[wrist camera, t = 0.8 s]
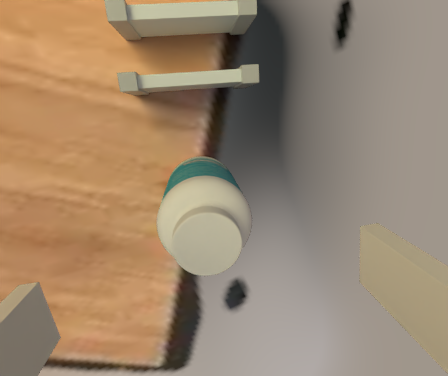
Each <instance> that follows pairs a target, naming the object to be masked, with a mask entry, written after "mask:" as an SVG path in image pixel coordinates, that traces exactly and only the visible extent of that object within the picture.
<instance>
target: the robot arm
mask: <svg viewBox="0 0 448 376" xmlns="http://www.w3.org/2000/svg"><path fill="white" fill-rule="evenodd" d="M359 281H360V283H361V284H362V285H363V286H364V287H365V288H366V289H367V290H368V291H369V292H370V293H371V294H372V295H373V296H374V298H375V299H376V300H377V301H379V303H380V304H381V305H382V306H383V307H384V308H385V309H386V310H387V311H388V312H389V313H390V314H391V315H392V316H393V317H394V318H395V319H396V320H397V321H398V323H399V324H400V325H401V326H402V327H403V328H404V329H405V330H406V331H407V332H408V333H409V334H410V335H411V336H412V337H413V338H414V339H415V340H416V341H417V342H418V343H419V344H420V345H421V347H422V348H423V349H424V350H425V351H426V352H427V353H428V354H429V355H430V356H431V357H432V358H433V359H434V360H435V361H436V362H437V363H438V364H439V365H440V366H441V367H442V368H443V369H444V370H445V371H446V373H447V374H448V266H447V265H445V264H443V263H442V262H440V261H439V260H437V259H435V258H434V257H432V256H430V255H429V254H427V253H426V252H424V251H422V250H421V249H419V248H417V247H416V246H414V245H412V244H411V243H409V242H407V241H406V240H404V239H403V238H401V237H399V236H398V235H396V234H395V233H393V232H391V231H390V230H388V229H386V228H385V227H383V226H381V225H380V224H378V223H376V224H370V225H364V226H360V280H359ZM60 338H61V337H60V335H59V332H58V330H57V327H56V324H55V322H54V319H53V317H52V314H51V312H50V309H49V307H48V304H47V302H46V299H45V297H44V294H43V292H42V289H41V287H40V284H39V282H35V283H30V284H24V285H18V286H17V287H16V288H15V289H14V290H13V291H12V292H11V293H10V294H9V295H8V296H7V297H6V298H5V299H4V300H3V301H2V302H1V303H0V376H38V374H39V373H40V371H41V369H42V368H43V366H44V364H45V363H46V361H47V359H48V358H49V356H50V354H51V353H52V351H53V349H54V348H55V346H56V344H57V343H58V341H59V339H60Z"/></svg>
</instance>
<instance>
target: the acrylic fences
mask: <svg viewBox="0 0 448 376" xmlns="http://www.w3.org/2000/svg"><path fill="white" fill-rule="evenodd" d="M104 1H105V7H106V12H107V18H108V22H109V23H110V24H111V25H112V26H113V27H114V28H115V29H116V30H117V31H118V32H119V33H120V34H121V35H122V36H123V37H124V39H125V40H141V37H154V36H174V35H193V34H213V33H230V35H238V34H244V33H245V32H246V30H247V29H248V27H249V26H250V24H251V23H252V21H253V20H254V18H255V17H256V15H257V2H256V0H236V1H213V2H189V3H164V4H140V5H127V3H126V2H125V0H104ZM117 76H118V81H119V87H120V92H123V93H127V94H131V95H134V96H138V95H149V93H150V92H165V91H179V90H194V89H208V88H223V87H233V89H238V88H247V87H250V86H252V85H254V84H256V83H258V82H259V65H258V64H254V65H242V66H240V67H239V68H238V69H232V70H216V71H200V72H185V73H169V74H153V75H139V74H138V73H136V72H124V73H117Z"/></svg>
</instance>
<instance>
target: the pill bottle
mask: <svg viewBox="0 0 448 376" xmlns="http://www.w3.org/2000/svg"><path fill="white" fill-rule="evenodd" d="M251 227H252V215H251V211H250V207H249V204H248V203H247V200H246V198H245V197H244V195H243V193H242V192H241V190H240V188H239V187H238V185H237V183H236V181H235V179H234V178H233V176H232V174H231V173H230V172H229V170H228V169H227V167H225V166H224V165H223V164H222V163H221V162H219V161H218V160H216V159H213V158H210V157H204V156H198V157H193V158H189V159H187V160H185V161H183V162H182V163H180V164H179V165H178V166H177V167H176V168H175V169H174V170H173V172H172V174H171V176H170V178H169V181H168V183H167V187H166V190H165V193H164V196H163V199H162V202H161V205H160V208H159V211H158V215H157V231H158V235H159V238H160V241H161V243H162V244H163V246H164V247H165V249H166V250H167V251H168V252H169V253H170V254H171V255H172V256H173V257H174V258H175V260H176V261H177V263H178V264H179V265H180V266H181V267H182V268H183V269H185V270H186V271H188V272H190V273H192V274H195V275H200V276H210V275H216V274H219V273H221V272H224V271H225V270H227V269H228V268H230V267H231V266H232V265H233V264H234V263H235V262H236V260H237V259H238V257H239V255H240V253H241V250H242V248H243V247H244V245H245V244H246V242H247V240H248V238H249V235H250V232H251Z"/></svg>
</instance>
